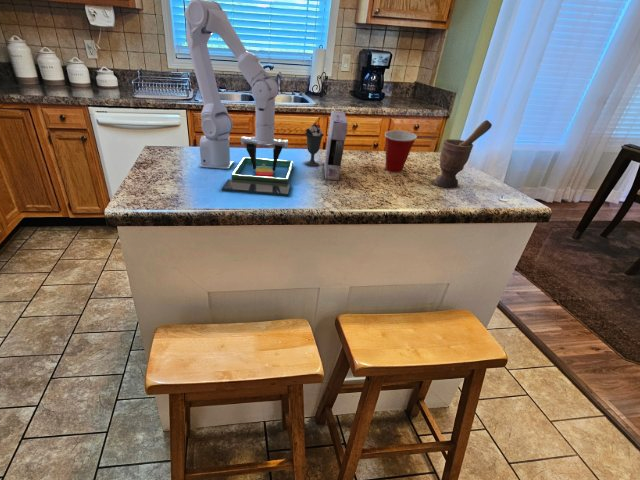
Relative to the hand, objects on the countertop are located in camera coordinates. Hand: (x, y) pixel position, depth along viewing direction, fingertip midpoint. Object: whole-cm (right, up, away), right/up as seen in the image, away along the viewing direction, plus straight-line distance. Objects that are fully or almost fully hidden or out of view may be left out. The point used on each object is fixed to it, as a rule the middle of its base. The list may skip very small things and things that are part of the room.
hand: (264, 169), depth 123 cm
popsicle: (0, -1, +1) cm, 2 cm away
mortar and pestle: (+61, -5, +1) cm, 61 cm away
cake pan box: (+22, +1, +6) cm, 23 cm away
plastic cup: (+45, +4, +12) cm, 47 cm away
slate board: (-1, -10, -11) cm, 15 cm away
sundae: (+16, +6, +12) cm, 21 cm away
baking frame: (0, -1, +1) cm, 1 cm away
